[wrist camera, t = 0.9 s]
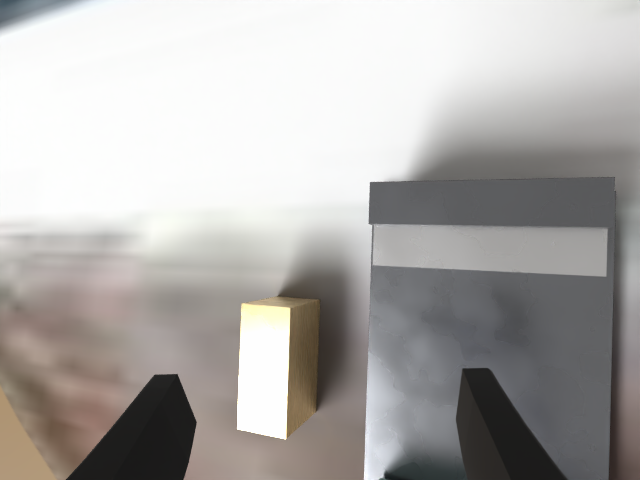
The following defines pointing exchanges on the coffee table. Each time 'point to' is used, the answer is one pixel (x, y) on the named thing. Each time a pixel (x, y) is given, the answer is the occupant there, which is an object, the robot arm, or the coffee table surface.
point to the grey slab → (489, 317)
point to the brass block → (278, 364)
